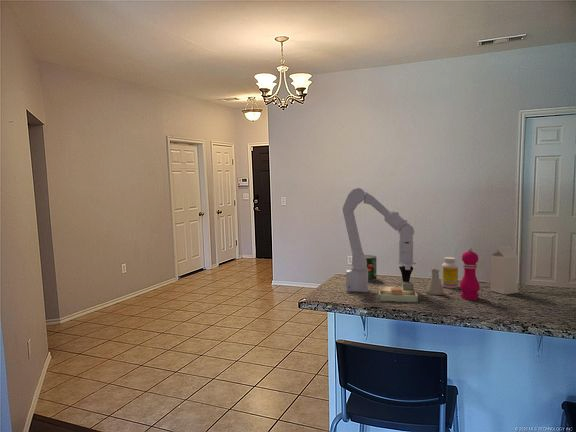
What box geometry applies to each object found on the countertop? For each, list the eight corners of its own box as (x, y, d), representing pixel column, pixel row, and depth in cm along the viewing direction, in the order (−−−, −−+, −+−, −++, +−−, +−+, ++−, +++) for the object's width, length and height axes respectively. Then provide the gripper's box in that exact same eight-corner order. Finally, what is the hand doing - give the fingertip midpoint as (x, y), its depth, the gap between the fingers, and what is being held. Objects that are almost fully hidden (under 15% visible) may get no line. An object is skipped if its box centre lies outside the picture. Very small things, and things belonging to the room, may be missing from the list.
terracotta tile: (390, 298, 163) (391, 299, 160) (390, 288, 163) (391, 289, 160) (401, 298, 162) (402, 300, 160) (401, 288, 162) (402, 290, 160)
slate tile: (403, 290, 167) (403, 284, 167) (402, 287, 171) (402, 281, 171) (413, 290, 166) (413, 284, 166) (412, 288, 170) (412, 282, 170)
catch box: (379, 301, 160) (379, 294, 160) (378, 297, 166) (378, 291, 166) (418, 302, 158) (418, 296, 158) (416, 298, 164) (416, 292, 163)
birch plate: (379, 297, 166) (379, 290, 166) (378, 292, 174) (378, 286, 174) (415, 298, 164) (415, 291, 164) (412, 293, 172) (412, 287, 172)
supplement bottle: (460, 288, 178) (460, 259, 177) (444, 288, 178) (444, 259, 177) (454, 284, 185) (454, 256, 184) (439, 285, 185) (439, 256, 184)
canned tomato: (361, 280, 196) (361, 257, 195) (358, 277, 204) (358, 255, 203) (378, 280, 195) (377, 257, 195) (375, 277, 203) (375, 255, 203)
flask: (447, 295, 167) (447, 271, 167) (429, 295, 168) (429, 271, 167) (440, 291, 175) (441, 267, 174) (423, 291, 175) (423, 267, 174)
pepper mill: (481, 300, 159) (482, 249, 157) (461, 299, 160) (462, 248, 159) (477, 295, 166) (477, 246, 164) (457, 295, 167) (458, 246, 166)
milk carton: (517, 293, 169) (518, 247, 168) (504, 295, 166) (505, 248, 165) (502, 289, 176) (503, 245, 174) (490, 291, 173) (491, 246, 172)
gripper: (418, 254, 166) (418, 287, 167) (413, 249, 181) (413, 279, 182) (400, 254, 168) (400, 287, 169) (397, 249, 182) (397, 279, 183)
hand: (405, 283), depth 175 cm, fingers closed
